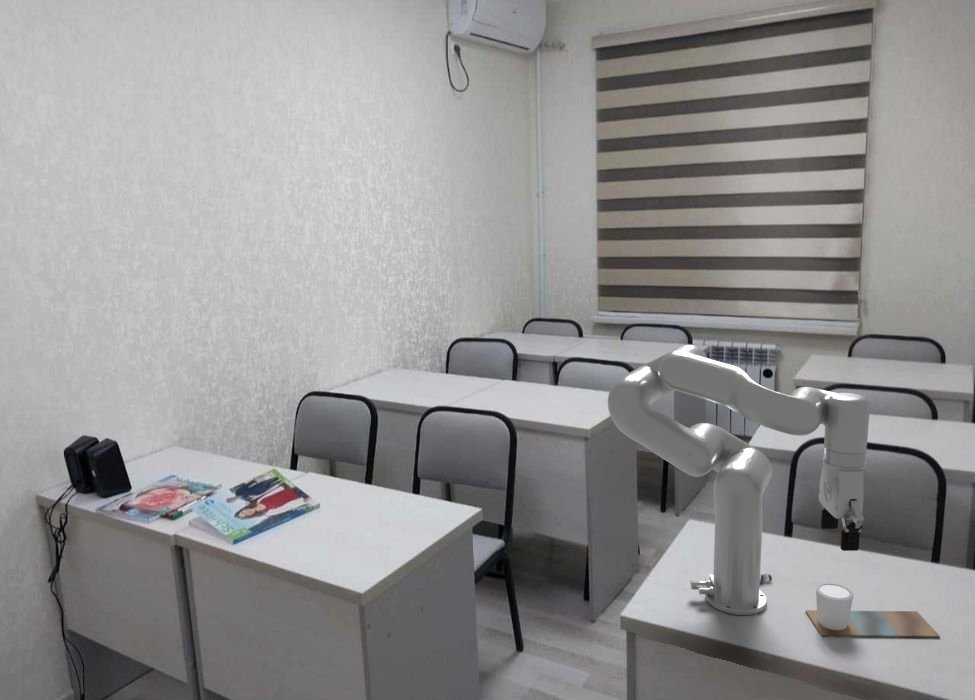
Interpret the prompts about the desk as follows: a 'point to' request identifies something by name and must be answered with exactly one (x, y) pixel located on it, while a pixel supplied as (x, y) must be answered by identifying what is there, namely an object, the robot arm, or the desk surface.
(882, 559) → the desk surface
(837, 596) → the white cup
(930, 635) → the game board
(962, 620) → the desk surface
